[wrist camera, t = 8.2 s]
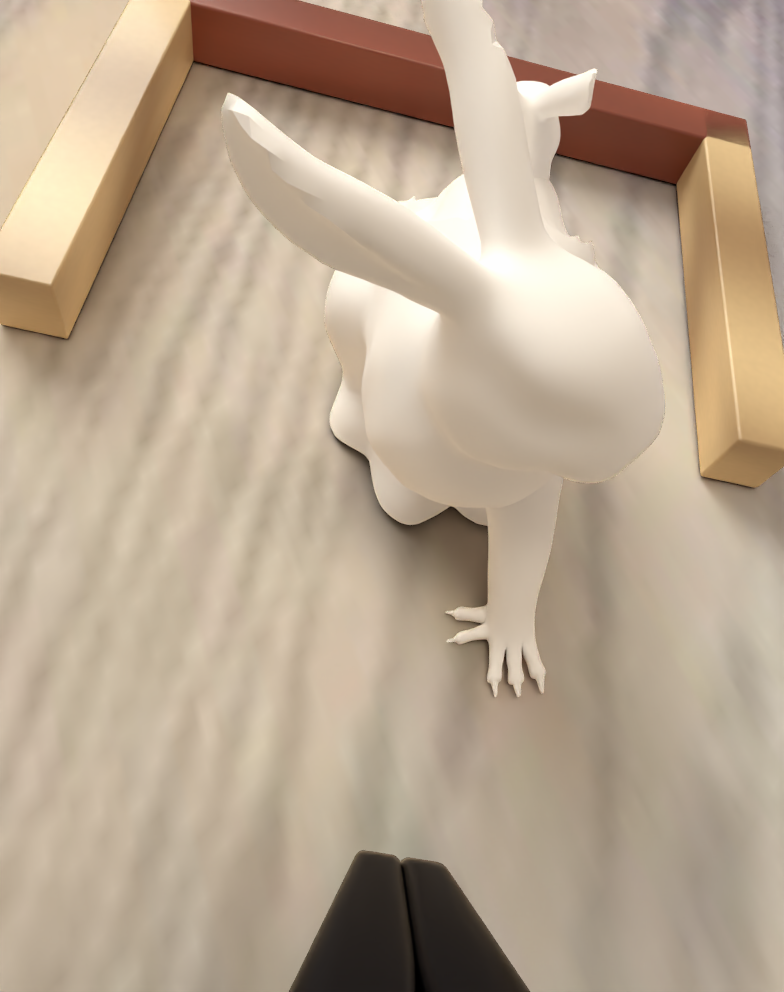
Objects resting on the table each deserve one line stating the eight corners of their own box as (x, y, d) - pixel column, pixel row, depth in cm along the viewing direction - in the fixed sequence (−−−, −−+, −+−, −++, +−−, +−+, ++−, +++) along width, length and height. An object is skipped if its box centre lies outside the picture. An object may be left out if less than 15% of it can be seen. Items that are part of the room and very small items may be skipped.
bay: (756, 489, 19) (802, 454, 18) (-1, 325, 18) (-24, 269, 16) (716, 165, 26) (747, 118, 24) (156, 20, 24) (151, -41, 22)
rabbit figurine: (541, 708, 16) (892, 489, 7) (180, 639, 15) (104, 310, 7) (558, 291, 21) (763, -98, 13) (300, 228, 21) (340, -223, 12)
